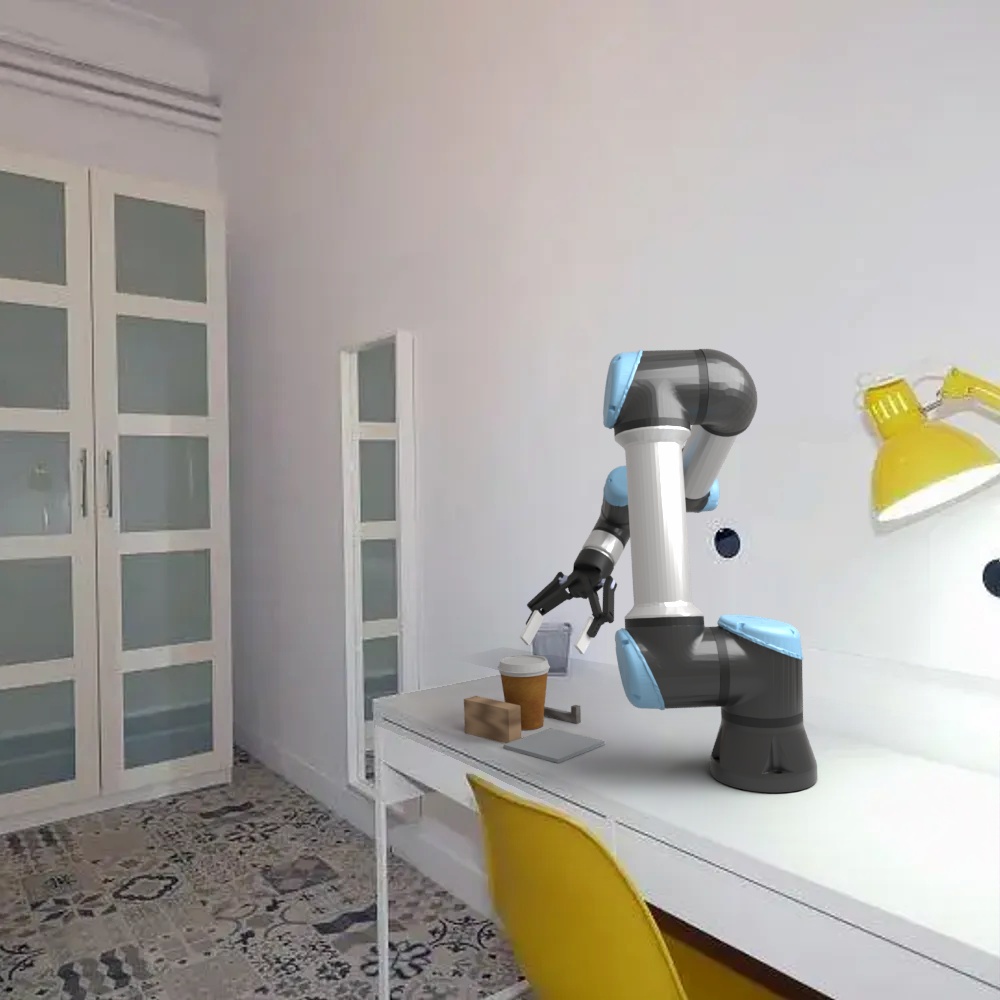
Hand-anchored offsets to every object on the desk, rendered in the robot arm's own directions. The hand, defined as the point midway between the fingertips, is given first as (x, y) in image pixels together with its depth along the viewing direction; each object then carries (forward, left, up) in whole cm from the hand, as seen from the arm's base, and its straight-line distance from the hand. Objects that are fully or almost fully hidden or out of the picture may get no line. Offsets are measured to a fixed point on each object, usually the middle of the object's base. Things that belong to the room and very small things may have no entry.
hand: (550, 645), depth 163 cm
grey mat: (-13, +14, -13) cm, 23 cm away
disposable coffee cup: (-1, +8, -13) cm, 16 cm away
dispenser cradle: (-1, +9, -13) cm, 16 cm away
